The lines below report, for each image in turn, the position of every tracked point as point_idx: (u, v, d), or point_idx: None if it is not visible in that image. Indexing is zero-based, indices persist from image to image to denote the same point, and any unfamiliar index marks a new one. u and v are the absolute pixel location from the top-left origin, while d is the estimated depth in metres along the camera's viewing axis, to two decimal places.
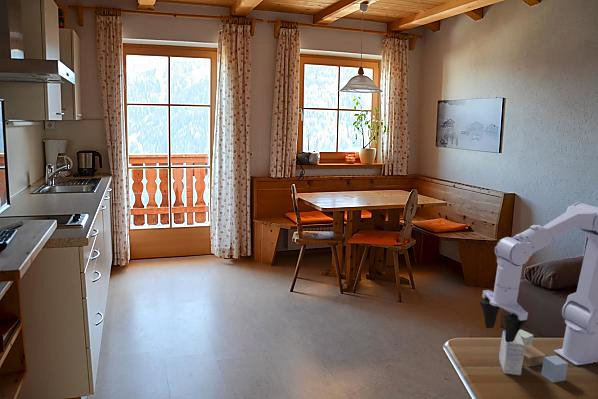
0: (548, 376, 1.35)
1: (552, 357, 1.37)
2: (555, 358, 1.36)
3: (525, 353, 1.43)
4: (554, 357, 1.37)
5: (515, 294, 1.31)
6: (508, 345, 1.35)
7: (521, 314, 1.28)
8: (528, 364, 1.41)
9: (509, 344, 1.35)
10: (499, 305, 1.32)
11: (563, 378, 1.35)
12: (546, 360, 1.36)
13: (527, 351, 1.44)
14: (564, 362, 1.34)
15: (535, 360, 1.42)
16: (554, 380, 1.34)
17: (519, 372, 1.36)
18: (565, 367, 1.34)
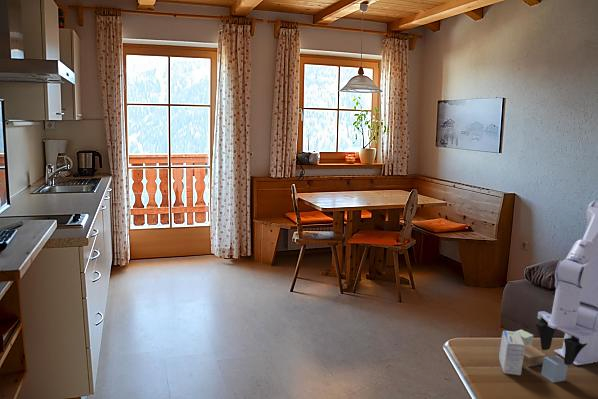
0: (548, 376, 1.35)
1: (552, 357, 1.37)
2: (555, 358, 1.36)
3: (525, 353, 1.43)
4: (554, 357, 1.37)
5: (575, 317, 1.30)
6: (508, 345, 1.35)
7: (583, 337, 1.26)
8: (528, 364, 1.41)
9: (509, 344, 1.35)
10: (558, 328, 1.31)
11: (563, 378, 1.35)
12: (546, 360, 1.36)
13: (527, 351, 1.44)
14: None
15: (535, 360, 1.42)
16: (554, 380, 1.34)
17: (519, 372, 1.36)
18: (565, 367, 1.34)
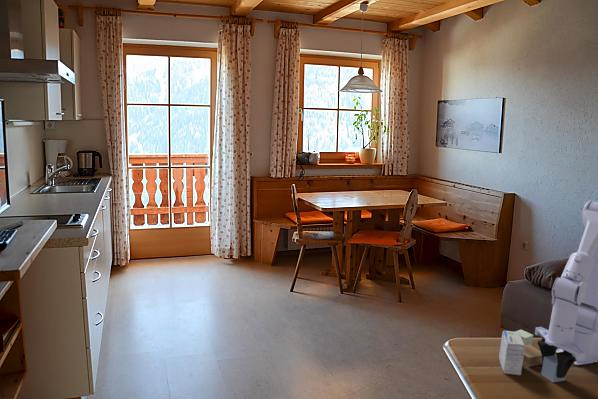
0: (548, 376, 1.35)
1: (552, 357, 1.37)
2: (555, 358, 1.36)
3: (525, 353, 1.43)
4: (554, 357, 1.37)
5: (572, 334, 1.31)
6: (508, 345, 1.35)
7: (579, 355, 1.27)
8: (529, 364, 1.41)
9: (509, 344, 1.35)
10: (555, 344, 1.32)
11: (563, 378, 1.35)
12: (546, 360, 1.36)
13: (527, 351, 1.44)
14: None
15: (536, 360, 1.42)
16: (554, 380, 1.34)
17: (519, 372, 1.36)
18: None
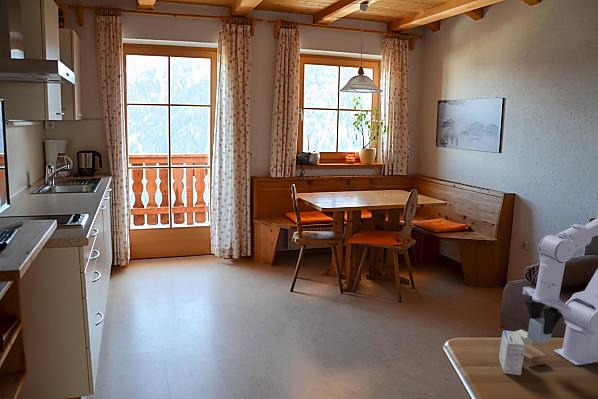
0: (534, 337, 1.39)
1: (538, 319, 1.40)
2: (541, 320, 1.40)
3: (526, 353, 1.43)
4: (540, 319, 1.41)
5: (558, 290, 1.35)
6: (508, 345, 1.35)
7: (565, 310, 1.31)
8: (529, 364, 1.41)
9: (509, 344, 1.35)
10: (542, 301, 1.36)
11: (548, 339, 1.39)
12: (532, 322, 1.40)
13: (527, 351, 1.44)
14: None
15: (536, 360, 1.42)
16: (540, 341, 1.38)
17: (519, 372, 1.36)
18: None
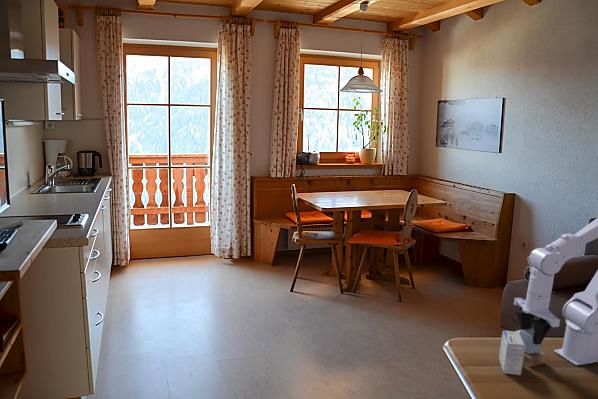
0: None
1: (528, 330, 1.44)
2: (531, 331, 1.44)
3: (526, 353, 1.43)
4: (530, 330, 1.44)
5: (547, 302, 1.38)
6: (508, 345, 1.35)
7: (554, 321, 1.35)
8: (529, 364, 1.41)
9: (509, 344, 1.35)
10: (532, 312, 1.39)
11: (538, 349, 1.42)
12: (522, 333, 1.43)
13: None
14: None
15: (536, 360, 1.42)
16: (529, 351, 1.42)
17: (519, 372, 1.36)
18: None
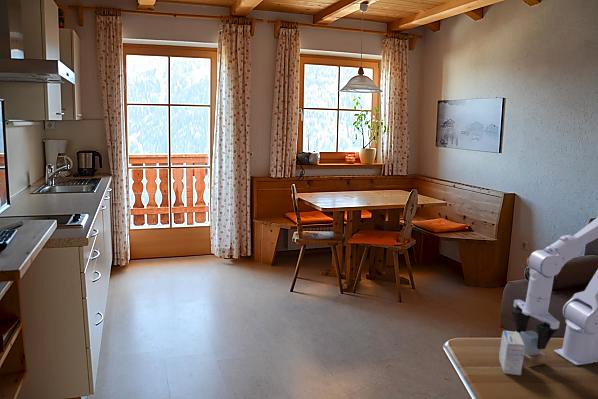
0: None
1: (528, 332, 1.44)
2: (531, 333, 1.44)
3: None
4: (530, 332, 1.44)
5: (547, 304, 1.39)
6: (508, 345, 1.35)
7: (553, 323, 1.35)
8: (529, 365, 1.41)
9: (509, 344, 1.35)
10: (531, 314, 1.39)
11: (538, 351, 1.43)
12: (522, 334, 1.44)
13: None
14: None
15: (536, 360, 1.42)
16: (529, 353, 1.42)
17: (519, 372, 1.36)
18: None
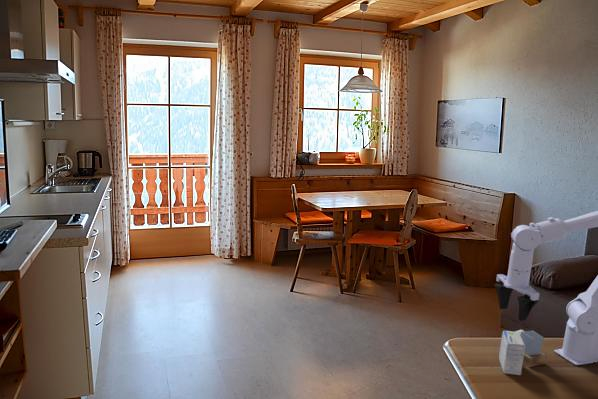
0: None
1: (529, 332, 1.44)
2: (531, 333, 1.44)
3: None
4: (530, 332, 1.44)
5: (527, 277, 1.44)
6: (508, 345, 1.35)
7: (533, 295, 1.40)
8: (529, 365, 1.41)
9: (509, 344, 1.35)
10: (513, 287, 1.44)
11: (539, 351, 1.43)
12: (523, 334, 1.44)
13: None
14: (539, 336, 1.42)
15: (536, 360, 1.42)
16: (530, 353, 1.42)
17: (519, 372, 1.36)
18: (540, 341, 1.42)
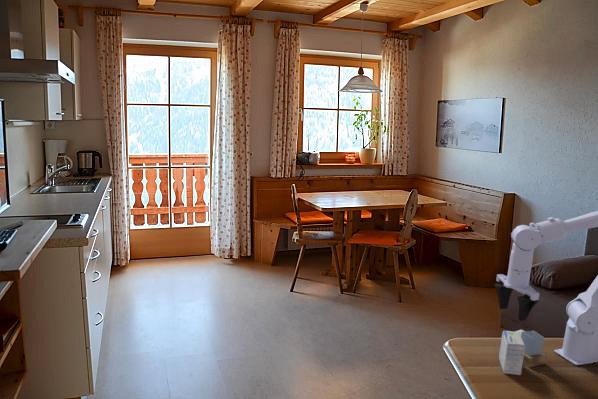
0: (525, 349, 1.43)
1: (529, 332, 1.44)
2: (532, 333, 1.44)
3: None
4: (531, 332, 1.44)
5: (527, 277, 1.44)
6: (508, 345, 1.35)
7: (533, 295, 1.40)
8: (529, 365, 1.41)
9: (509, 344, 1.35)
10: (513, 287, 1.44)
11: (539, 352, 1.43)
12: (523, 334, 1.44)
13: None
14: (540, 336, 1.42)
15: (536, 361, 1.42)
16: (530, 353, 1.42)
17: (519, 372, 1.36)
18: (541, 341, 1.42)
